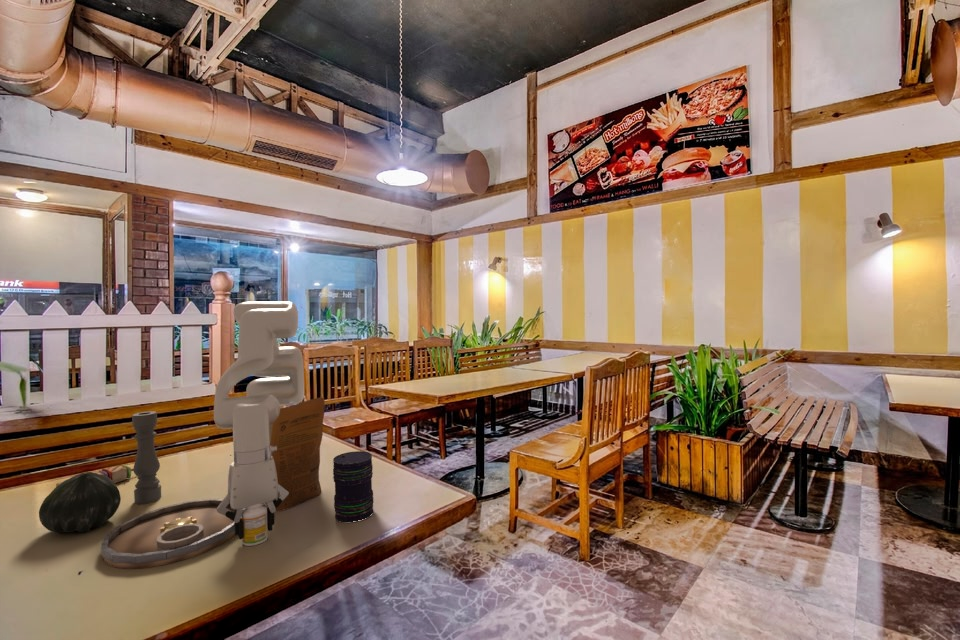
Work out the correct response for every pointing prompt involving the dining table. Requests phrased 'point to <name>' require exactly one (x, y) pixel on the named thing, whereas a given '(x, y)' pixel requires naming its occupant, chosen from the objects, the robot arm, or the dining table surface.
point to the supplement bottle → (254, 525)
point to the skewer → (115, 473)
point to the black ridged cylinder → (353, 486)
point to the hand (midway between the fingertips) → (255, 531)
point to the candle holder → (146, 458)
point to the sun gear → (177, 523)
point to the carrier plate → (152, 531)
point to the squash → (80, 503)
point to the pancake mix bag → (298, 450)
